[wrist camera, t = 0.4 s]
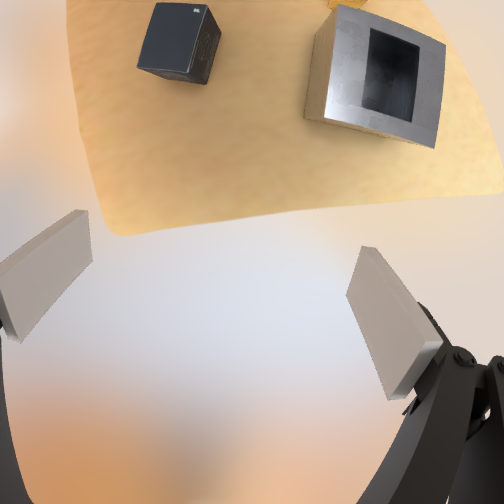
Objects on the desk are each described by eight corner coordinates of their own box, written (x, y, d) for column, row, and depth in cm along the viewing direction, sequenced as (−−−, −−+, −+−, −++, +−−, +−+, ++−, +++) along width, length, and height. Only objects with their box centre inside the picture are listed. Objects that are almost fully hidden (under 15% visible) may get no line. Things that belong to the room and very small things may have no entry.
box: (180, 27, 29) (155, 0, 19) (222, 32, 29) (209, 4, 20) (165, 80, 32) (134, 68, 22) (206, 86, 33) (188, 73, 23)
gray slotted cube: (315, 35, 29) (338, 3, 18) (398, 59, 30) (445, 45, 19) (303, 118, 34) (324, 117, 23) (387, 138, 35) (434, 148, 24)
